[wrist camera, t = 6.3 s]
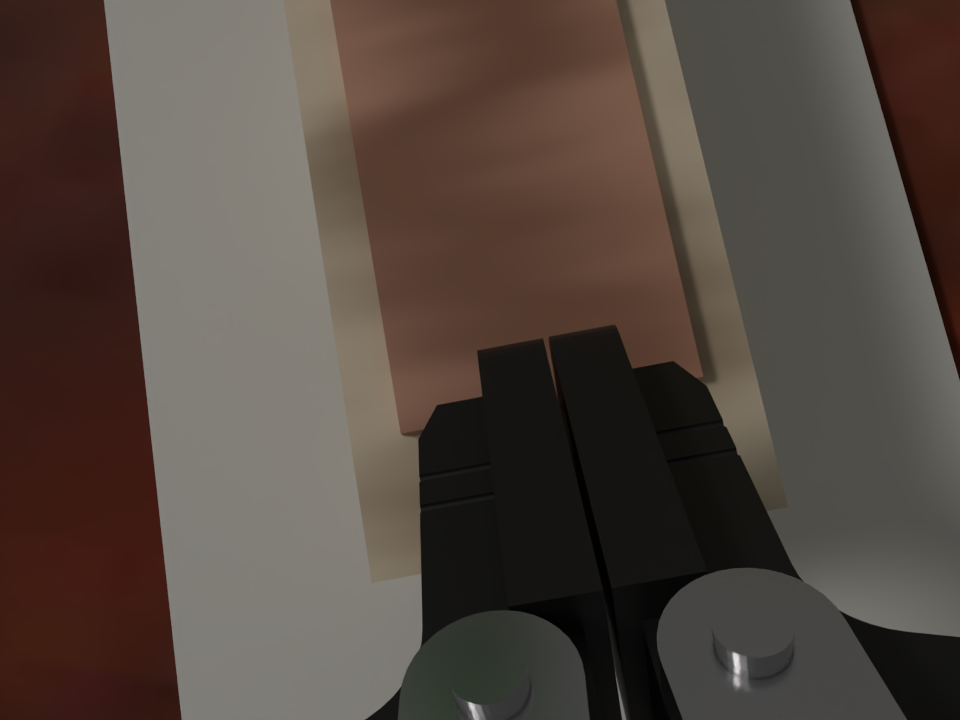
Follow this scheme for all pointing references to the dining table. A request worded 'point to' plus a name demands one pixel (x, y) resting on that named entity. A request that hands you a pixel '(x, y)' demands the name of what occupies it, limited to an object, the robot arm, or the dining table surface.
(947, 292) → the dining table surface
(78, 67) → the dining table surface
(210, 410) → the grey mat
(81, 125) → the dining table surface
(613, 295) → the maple block
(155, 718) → the dining table surface
